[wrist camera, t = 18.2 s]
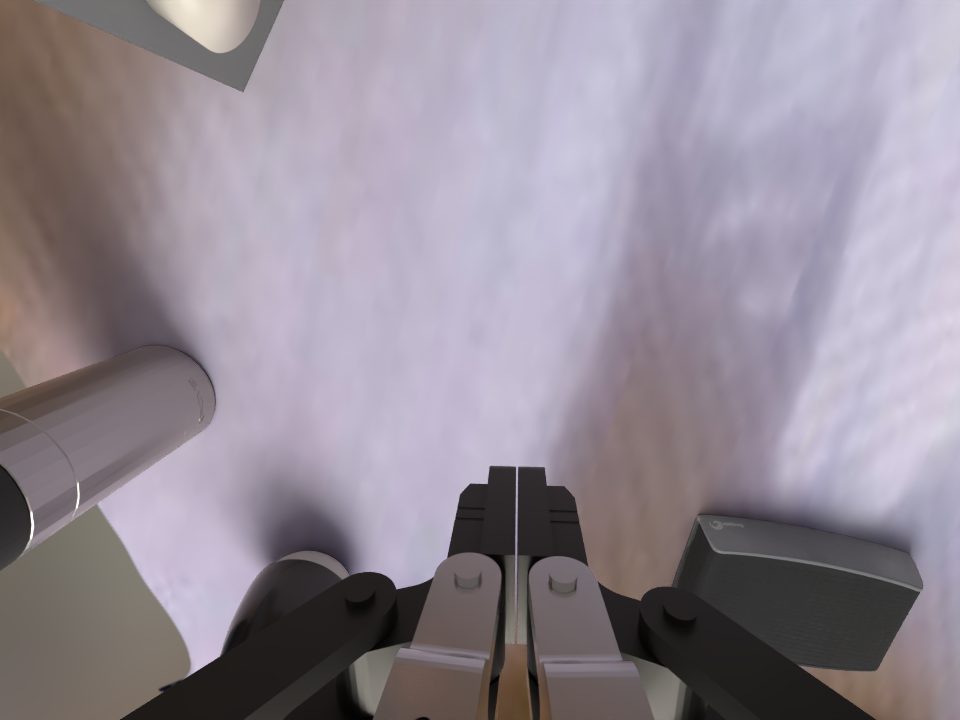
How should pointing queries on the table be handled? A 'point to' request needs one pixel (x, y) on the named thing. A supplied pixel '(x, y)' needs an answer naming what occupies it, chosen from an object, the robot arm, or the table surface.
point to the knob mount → (174, 35)
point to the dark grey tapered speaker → (282, 592)
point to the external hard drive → (802, 588)
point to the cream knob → (211, 20)
